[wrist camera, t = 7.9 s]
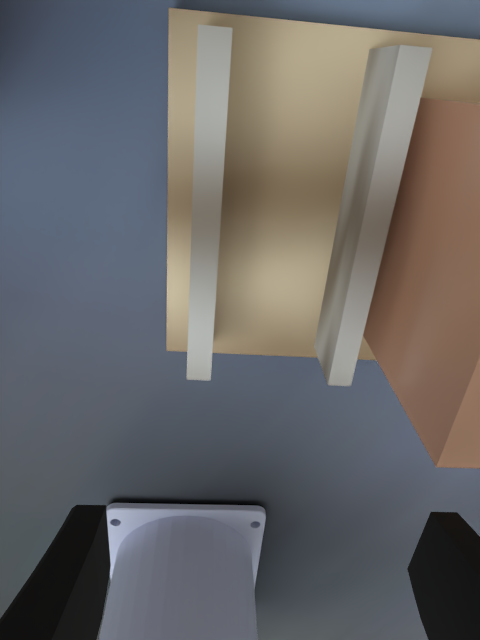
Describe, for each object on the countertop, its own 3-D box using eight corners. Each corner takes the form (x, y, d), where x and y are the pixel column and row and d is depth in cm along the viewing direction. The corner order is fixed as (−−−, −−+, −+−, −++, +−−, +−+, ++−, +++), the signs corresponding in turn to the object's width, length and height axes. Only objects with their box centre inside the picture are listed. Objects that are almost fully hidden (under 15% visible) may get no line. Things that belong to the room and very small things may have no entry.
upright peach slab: (419, 331, 18) (527, 469, 12) (359, 328, 17) (436, 467, 11) (490, 103, 14) (707, 128, 8) (413, 96, 14) (574, 116, 8)
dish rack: (564, 356, 20) (628, 408, 17) (169, 337, 18) (159, 390, 15) (708, 66, 15) (839, 65, 12) (171, 12, 13) (157, -7, 10)
